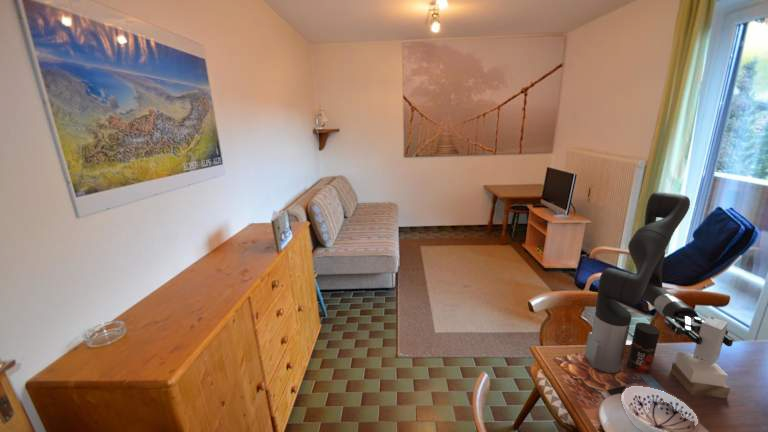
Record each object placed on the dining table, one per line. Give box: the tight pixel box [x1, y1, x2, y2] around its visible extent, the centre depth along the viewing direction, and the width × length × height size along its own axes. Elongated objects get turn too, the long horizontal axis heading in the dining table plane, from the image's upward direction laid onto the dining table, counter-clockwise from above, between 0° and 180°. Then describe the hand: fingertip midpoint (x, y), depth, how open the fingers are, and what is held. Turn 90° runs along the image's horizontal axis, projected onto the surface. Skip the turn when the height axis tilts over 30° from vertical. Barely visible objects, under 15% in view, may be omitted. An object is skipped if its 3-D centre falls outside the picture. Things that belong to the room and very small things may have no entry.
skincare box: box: [693, 316, 729, 366], centre depth 94 cm, size 6×4×12 cm
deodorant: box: [626, 322, 661, 376], centre depth 102 cm, size 6×6×15 cm
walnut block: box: [670, 362, 731, 399], centre depth 97 cm, size 9×9×4 cm
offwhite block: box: [674, 352, 729, 387], centre depth 96 cm, size 8×8×4 cm
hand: (715, 342), depth 92 cm, fingers closed on skincare box, 7 cm apart
